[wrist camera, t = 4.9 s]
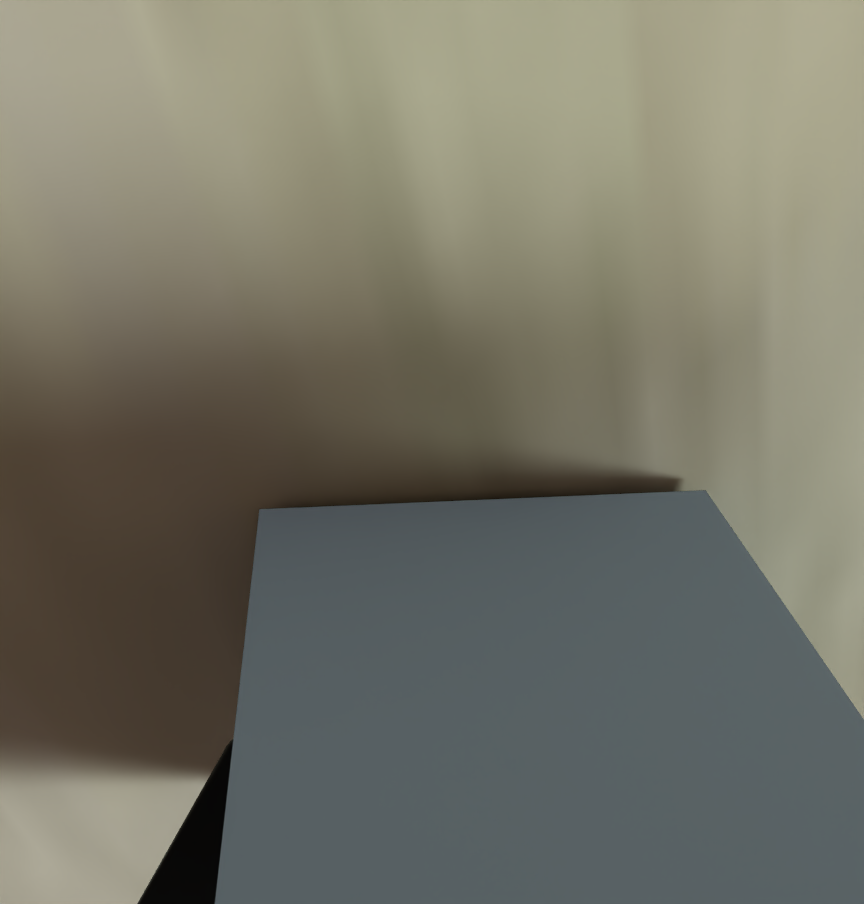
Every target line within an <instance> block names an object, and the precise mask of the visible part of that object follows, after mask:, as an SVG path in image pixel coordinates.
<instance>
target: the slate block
mask: <svg viewBox="0 0 864 904" xmlns="http://www.w3.org/2000/svg"><path fill="white" fill-rule="evenodd" d="M215 904H864V719H863V718H862V716H861V715H860V714H859V712H858V711H857V709H856V708H855V706H854V705H853V703H852V702H851V700H850V699H849V698H848V696H847V695H846V693H845V692H844V690H843V689H842V687H841V686H840V685H839V683H838V682H837V680H836V679H835V677H834V676H833V674H832V673H831V672H830V670H829V669H828V667H827V666H826V664H825V663H824V661H823V660H822V658H821V657H820V656H819V654H818V653H817V651H816V650H815V648H814V647H813V645H812V644H811V643H810V641H809V640H808V638H807V637H806V635H805V634H804V632H803V631H802V629H801V628H800V627H799V625H798V624H797V622H796V621H795V619H794V618H793V616H792V615H791V614H790V612H789V611H788V609H787V608H786V606H785V605H784V603H783V602H782V600H781V599H780V598H779V596H778V595H777V593H776V592H775V590H774V589H773V587H772V586H771V585H770V583H769V582H768V580H767V579H766V577H765V576H764V574H763V573H762V571H761V570H760V569H759V567H758V566H757V564H756V563H755V561H754V560H753V558H752V557H751V556H750V554H749V553H748V551H747V550H746V548H745V547H744V545H743V544H742V542H741V541H740V540H739V538H738V537H737V535H736V534H735V532H734V531H733V529H732V528H731V527H730V525H729V524H728V522H727V521H726V519H725V518H724V516H723V515H722V513H721V512H720V511H719V509H718V508H717V506H716V505H715V503H714V502H713V500H712V499H711V498H710V496H709V495H708V493H707V492H706V490H701V491H678V492H654V493H631V494H607V495H583V496H560V497H536V498H513V499H489V500H465V501H442V502H418V503H394V504H371V505H347V506H324V507H300V508H276V509H259V518H258V527H257V536H256V544H255V553H254V562H253V571H252V580H251V589H250V597H249V606H248V615H247V624H246V633H245V642H244V650H243V659H242V668H241V677H240V686H239V695H238V703H237V712H236V721H235V730H234V739H233V748H232V756H231V765H230V774H229V783H228V792H227V801H226V809H225V818H224V827H223V836H222V845H221V854H220V862H219V871H218V880H217V889H216V898H215Z"/></svg>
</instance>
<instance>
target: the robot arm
mask: <svg viewBox="0 0 864 904" xmlns="http://www.w3.org/2000/svg"><path fill="white" fill-rule="evenodd" d="M232 748H233V740H231V741H230V742H229V744H228V745H227V747H226V748H225V750H224V752H223V753H222V755H221V757H220V759H219V760H218V762H217V764H216V766H215V768H214V769H213V771H212V773H211V775H210V776H209V778H208V780H207V782H206V783H205V785H204V787H203V789H202V791H201V792H200V794H199V796H198V798H197V799H196V801H195V803H194V805H193V806H192V808H191V810H190V812H189V813H188V815H187V817H186V819H185V821H184V822H183V824H182V826H181V828H180V829H179V831H178V833H177V835H176V836H175V838H174V840H173V842H172V844H171V845H170V847H169V849H168V851H167V852H166V854H165V856H164V858H163V859H162V861H161V863H160V865H159V866H158V868H157V870H156V872H155V874H154V875H153V877H152V879H151V881H150V882H149V884H148V886H147V888H146V889H145V891H144V893H143V895H142V896H141V898H140V900H139V902H138V904H215V898H216V889H217V880H218V871H219V862H220V854H221V845H222V836H223V827H224V818H225V809H226V801H227V792H228V783H229V774H230V765H231V756H232Z"/></svg>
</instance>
